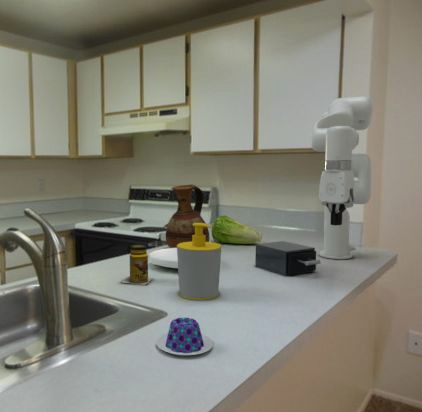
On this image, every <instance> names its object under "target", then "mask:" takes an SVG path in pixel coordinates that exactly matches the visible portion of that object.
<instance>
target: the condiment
mask: <svg viewBox="0 0 422 412" xmlns="http://www.w3.org/2000/svg"><path fill="white" fill-rule="evenodd" d="M147 248H148V247H147V245H144V244H133V245H131V246H130V254H129V276H127V277H126V278H125V279H124V280H123V281H121V283H122V284H132V285H141V286H146V284H148V283H150V281H151V280H152V278H150V277H149V254H148V253H147V252H148V251H147V250H148V249H147Z"/></svg>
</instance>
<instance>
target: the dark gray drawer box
mask: <svg viewBox="0 0 422 412" xmlns="http://www.w3.org/2000/svg"><path fill="white" fill-rule="evenodd" d="M303 251H316V247H313V246H309V245H303V244H299V243H295V242H291V241H290V242H289V241H286V240H279V241H272V242H262V243H261V242H260V243H255V259H254V261H255V265H254V267H256V268H259V269H262V270H266V271H269V272H271V273H275V274H278V275H281V276H284V277H287V276H294V275H300V274H307V273H313V272H315V270H312V271H306V272H299V273H293V274H288V273H287V254H288V253H295V252H303Z"/></svg>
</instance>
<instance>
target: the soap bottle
mask: <svg viewBox="0 0 422 412" xmlns="http://www.w3.org/2000/svg"><path fill="white" fill-rule="evenodd" d="M205 223H206V222H205ZM205 223H194V224H193V226H195V235H192V242H183V243H179V244H178V245H177V258H178V268H177V274H178V286H179V287H178V289H179V291H178V292H179V296H180V297H183V298H185V299H188V300H196V301H206V300H213V299H215V298H217V297H218V296H219V290H220V289H219V287H220V276H221V275H220V274H221V273H220V272H221V260H222V259H221V258H222V257H221V256H222V245H221V243H218V242H211V241H209V242H206V236H205V235H203V227H208V229H212V225H210V224H208V223H206V224H205Z"/></svg>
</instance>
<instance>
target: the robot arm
mask: <svg viewBox="0 0 422 412" xmlns="http://www.w3.org/2000/svg"><path fill="white" fill-rule="evenodd" d="M372 114H373V104H372V100H371V99H370V98H369V97H367V96H365V95H361V96H348V97H347V96H345V97H338V98H336V99H333V100H332V101H331V102H330V104H329V105H328V108H327V111H325V112H323V114H322V115H321V118H320V119H318V120H317V121H316V122H315V123H314V125H313V126H312V130H311V135H310V146H311V148H312V150H313V151H315V152H325V154H324V158H325V159H324V162H323V164H322V167H323V168H324V170H322V171H321V176H320V180H319V189H318V200H319V201H320V202H321V205H322V206H323V208H324V209H323V211H324V213H323V215H324V218H323V247H322V248H323V249H322V250H321V251H319V253H318V256H320V257H322V258H325V259H332V260H349V259H352V258H353V254H352V253H351V251H355V250H356V248H357V247H356V246H355V245H350V222H351V221H350V212H349V211H348V210H347V209H349V208H353V207H354V205H364V204H365V205H366V204H368V203H369V202H370V200H371V193H372V192H371V191H372V187H371V186H372V160H371V157H370V156H369V155H368V154H367V153H353V150H355V149H356V148H357V146H358V145H359V142H360V134H359V132H357V131H364V130H367V129H368V128H369V126H370V125H371V121H372V120H371V119H372V116H373V115H372ZM355 178H357V180H355Z"/></svg>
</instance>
